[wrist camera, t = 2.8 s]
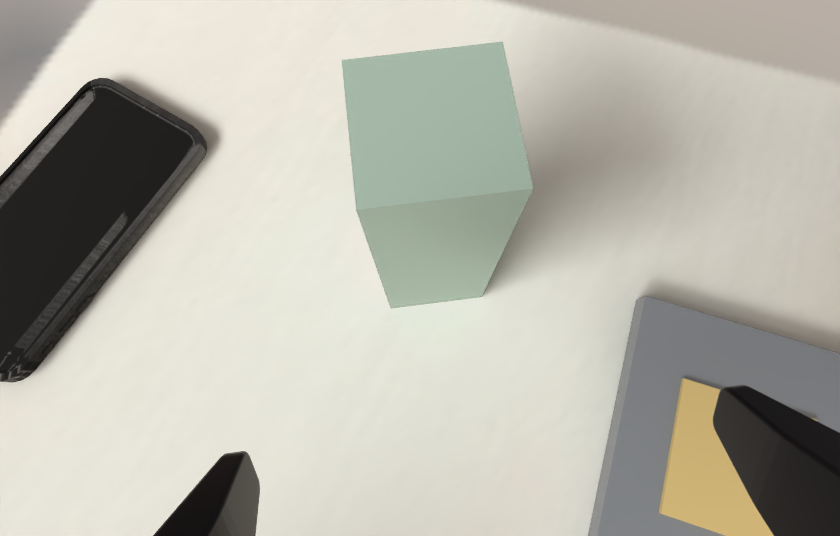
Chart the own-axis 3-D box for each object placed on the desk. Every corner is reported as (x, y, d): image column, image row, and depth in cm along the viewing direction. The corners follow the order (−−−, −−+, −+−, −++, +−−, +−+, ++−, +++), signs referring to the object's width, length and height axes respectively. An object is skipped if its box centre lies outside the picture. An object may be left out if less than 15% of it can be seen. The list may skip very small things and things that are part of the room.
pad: (830, 659, 19) (856, 675, 18) (581, 571, 20) (590, 580, 19) (853, 365, 23) (876, 362, 21) (636, 300, 24) (646, 294, 22)
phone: (-117, 304, 23) (96, 70, 27) (-92, 308, 24) (108, 84, 28) (5, 393, 22) (211, 136, 25) (25, 393, 23) (220, 147, 27)
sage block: (481, 296, 24) (533, 188, 12) (390, 308, 24) (356, 210, 12) (467, 212, 25) (503, 42, 13) (381, 223, 25) (341, 59, 13)
